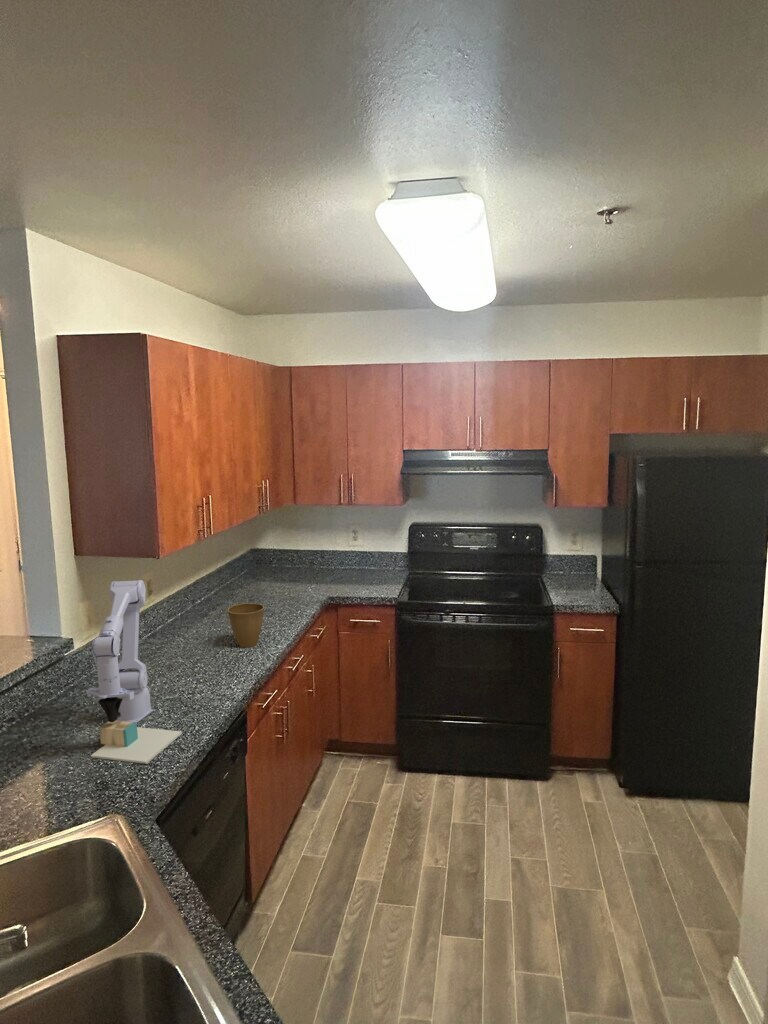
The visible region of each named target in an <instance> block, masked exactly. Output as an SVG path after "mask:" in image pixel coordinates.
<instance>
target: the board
mask: <svg viewBox="0 0 768 1024" xmlns="http://www.w3.org/2000/svg"><path fill="white" fill-rule="evenodd" d="M137 733H138V739H137V740H136V741H134V742H133V743H132V744H130V745H129V746H128V747H125V746H116V745H106V744H103V746H101V747H100V748H99V749H97V750H96V751H95V752H94V753H92V754H90V758H93V759H101V760H108V761H109V760H110V761H111V760H112V761H117V762H119V761H120V762H127V763H135V764H136V763H138V764H145V765H147V764H148V763H150V762H151V760H153V759H154V758H156V756H157V755H159V753H161V752H163V750H164V749H166V748H167V747H168V746H169V745H170V744H171V743H172V742H174V741H175V740H176V739H177V738H179V737H180V736H181V735H182V734H183V731H182V730H181V731H180V730H172V729H171V730H170V729H159V728H152V727H151V728H149V727H139V726H137Z"/></svg>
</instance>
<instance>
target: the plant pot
mask: <svg viewBox="0 0 768 1024" xmlns="http://www.w3.org/2000/svg"><path fill="white" fill-rule="evenodd" d="M264 611H265V606H264V605H263V604H260V603H253V602H252V603H250V602H248V603H237V604H234V605H231V606H230V607H228V608H227V614H228V619H229V623H230V626H231V629H232V631H233V635H234V637H235V640H236V642H237V644H238V646H239V647H240V648H252V647H255V646H256V645H258V641H259V639H260V635H261V631H262V625H263V620H264V613H265V612H264Z"/></svg>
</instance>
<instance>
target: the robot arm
mask: <svg viewBox="0 0 768 1024" xmlns="http://www.w3.org/2000/svg"><path fill="white" fill-rule="evenodd" d="M108 591H109V593H108V594H109V598H110V600H111V607H110V611H109V615H108V616H106V617H105V618H104V619H103V622H102V625H101V629H100V630H99V632H98V633H99V634H98V636H97V637H96V638H94V639H93V640H92V642H91V654H92V656H93V661H94V663H95V665H96V669H97V671H96V672H97V677H98V678H97V679H98V682H97V683H98V687H90V688H89V689H87V690H86V694H87V697H89V698H90V697H98V699H99V700H98V701H97V702H98V705H99V706H100V707H101V708H102V709H103V711H104V714H105V715H106V718H107V719H108V722H114V721H124V722H135V723H137V724H138V723H139V722H140V721H142V719H145V717H147V716H148V715H150V714H151V713H152V712H154V708H152V705H151V696H150V691H149V688H148V687H147V685H148V673H147V668H148V667H147V665H146V664H145V663H144V662H142V661H141V660H139V658H138V657H139V634H140V632H139V631H140V630H139V628H140V611H141V608H142V607H144V606H145V605H146V596H147V595H146V592H147V588H146V585H145V582H144V581H143V580H142V579H139V580H124V581H123V580H121V581H115V580H114V581H111V583H110V585H109V589H108ZM122 619H123V620H122ZM121 635H122V643H121V638H120V637H121ZM121 644H122V647H121ZM120 648H121V650H120ZM120 651H121V660H120V662H119V659H118V656H119V653H120ZM119 710H120V716H118V715H119Z"/></svg>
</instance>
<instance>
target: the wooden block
mask: <svg viewBox="0 0 768 1024" xmlns="http://www.w3.org/2000/svg"><path fill="white" fill-rule="evenodd" d="M137 724H138V722H137V723H135V722H124V721H114V722H109V721H107V722H106V723H104V724H102V725H101V726H100V727H98V728H99V730H98V731H99V737H100V739H99V740H100V744H101V745H116V746H125V747H128V746H129V745H130V744H132V743H133V742H134V741H136V740H137V739H138V733H137V727H138V725H137Z"/></svg>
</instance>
